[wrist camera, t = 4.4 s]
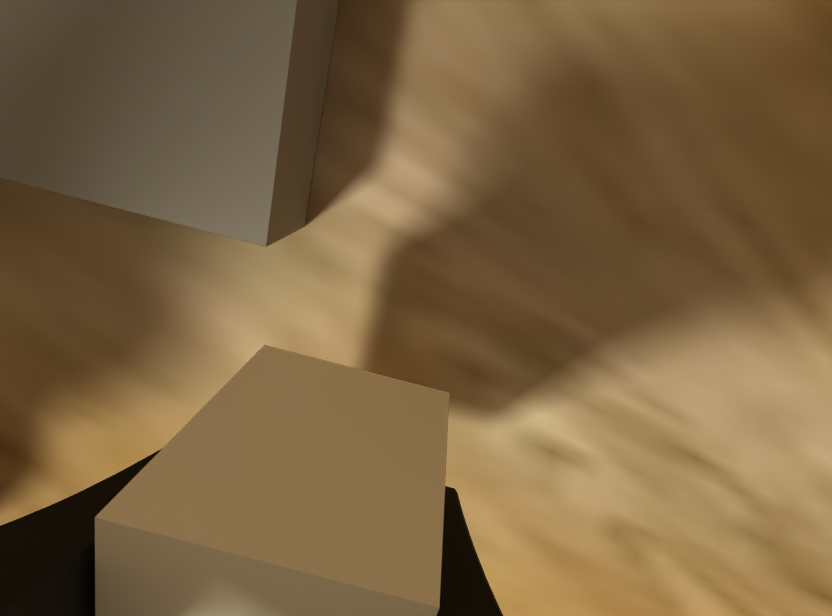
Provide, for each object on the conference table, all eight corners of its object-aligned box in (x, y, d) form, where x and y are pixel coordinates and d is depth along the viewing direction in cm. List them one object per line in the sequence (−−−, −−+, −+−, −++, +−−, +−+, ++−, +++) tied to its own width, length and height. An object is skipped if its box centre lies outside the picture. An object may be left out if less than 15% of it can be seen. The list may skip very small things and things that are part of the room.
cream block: (406, 534, 14) (368, 802, 8) (244, 492, 14) (95, 730, 8) (449, 392, 12) (439, 607, 6) (264, 344, 12) (95, 517, 7)
